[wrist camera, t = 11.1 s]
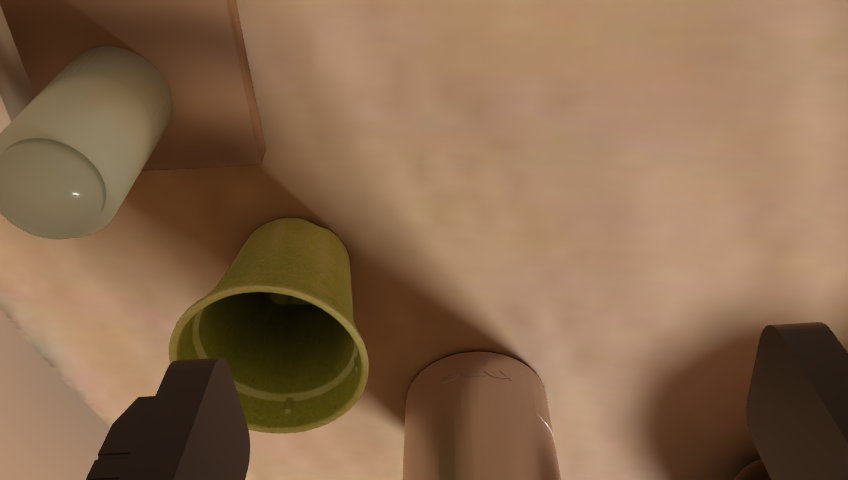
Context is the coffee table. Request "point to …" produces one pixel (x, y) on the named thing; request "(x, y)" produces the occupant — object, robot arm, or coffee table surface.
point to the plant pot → (282, 328)
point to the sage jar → (82, 143)
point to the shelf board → (160, 45)
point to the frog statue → (753, 472)
